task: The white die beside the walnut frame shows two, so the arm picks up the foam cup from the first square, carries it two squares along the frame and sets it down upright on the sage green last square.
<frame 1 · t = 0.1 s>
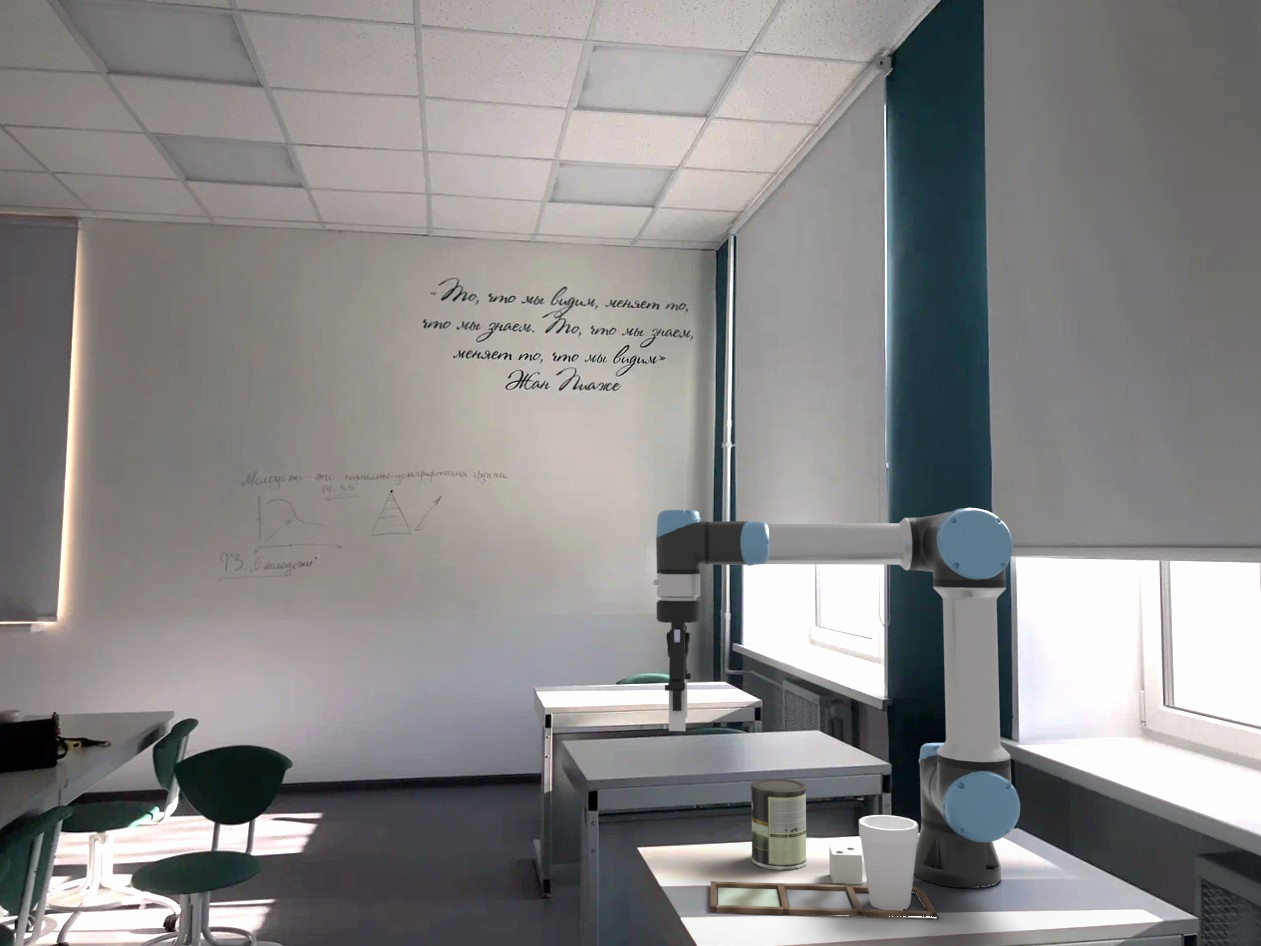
hand: (678, 723, 169), 28 cm above the table, tool pointing down, fingers open, 13 cm apart
coffee can: (779, 863, 183), on the table
walnut frame: (818, 901, 162), on the table
foam cup: (889, 905, 161), resting in walnut frame
white die: (845, 879, 174), on the table
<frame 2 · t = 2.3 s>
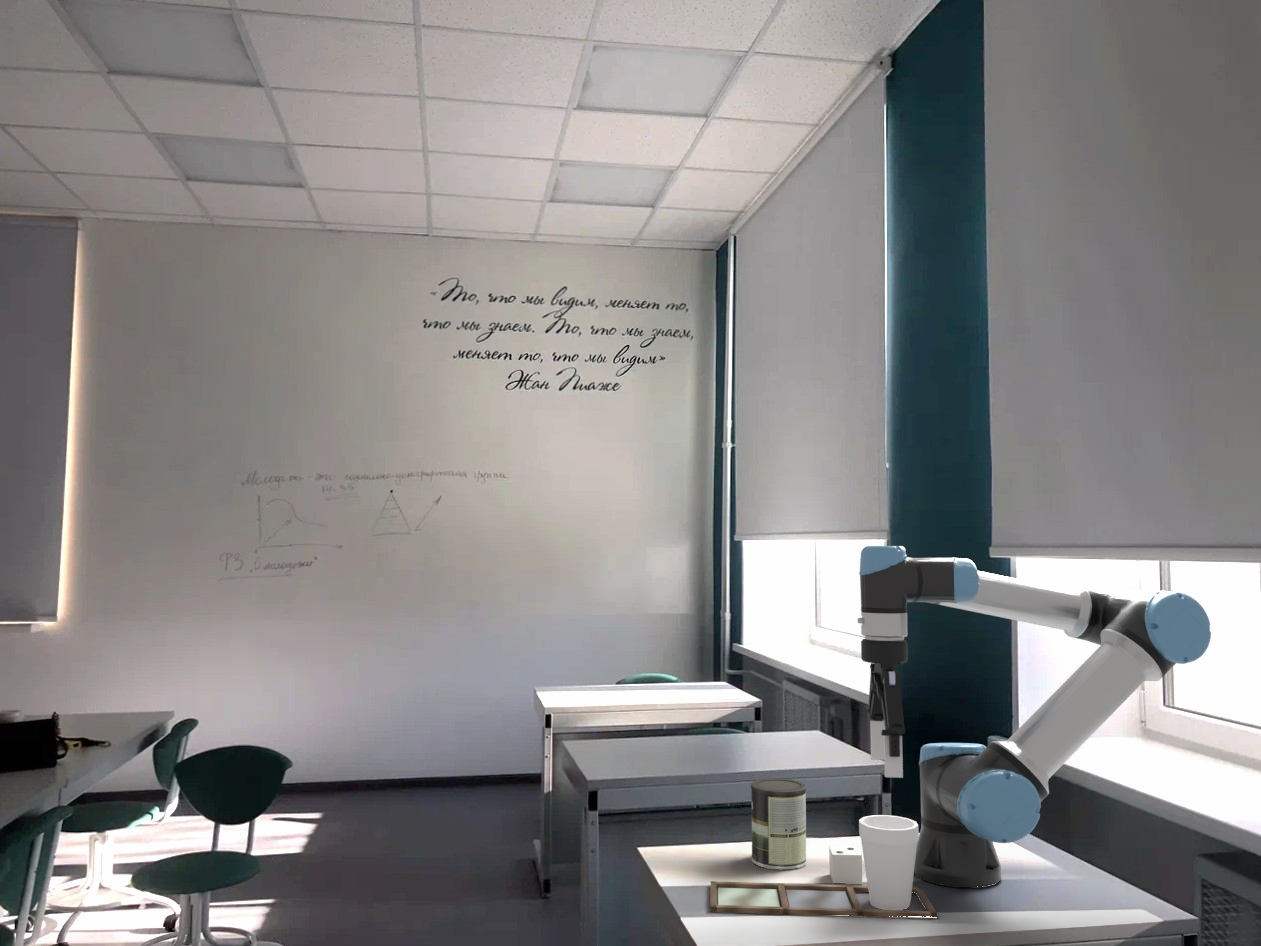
hand: (886, 768, 163), 22 cm above the table, tool pointing down, fingers open, 13 cm apart
nothing on the table moved.
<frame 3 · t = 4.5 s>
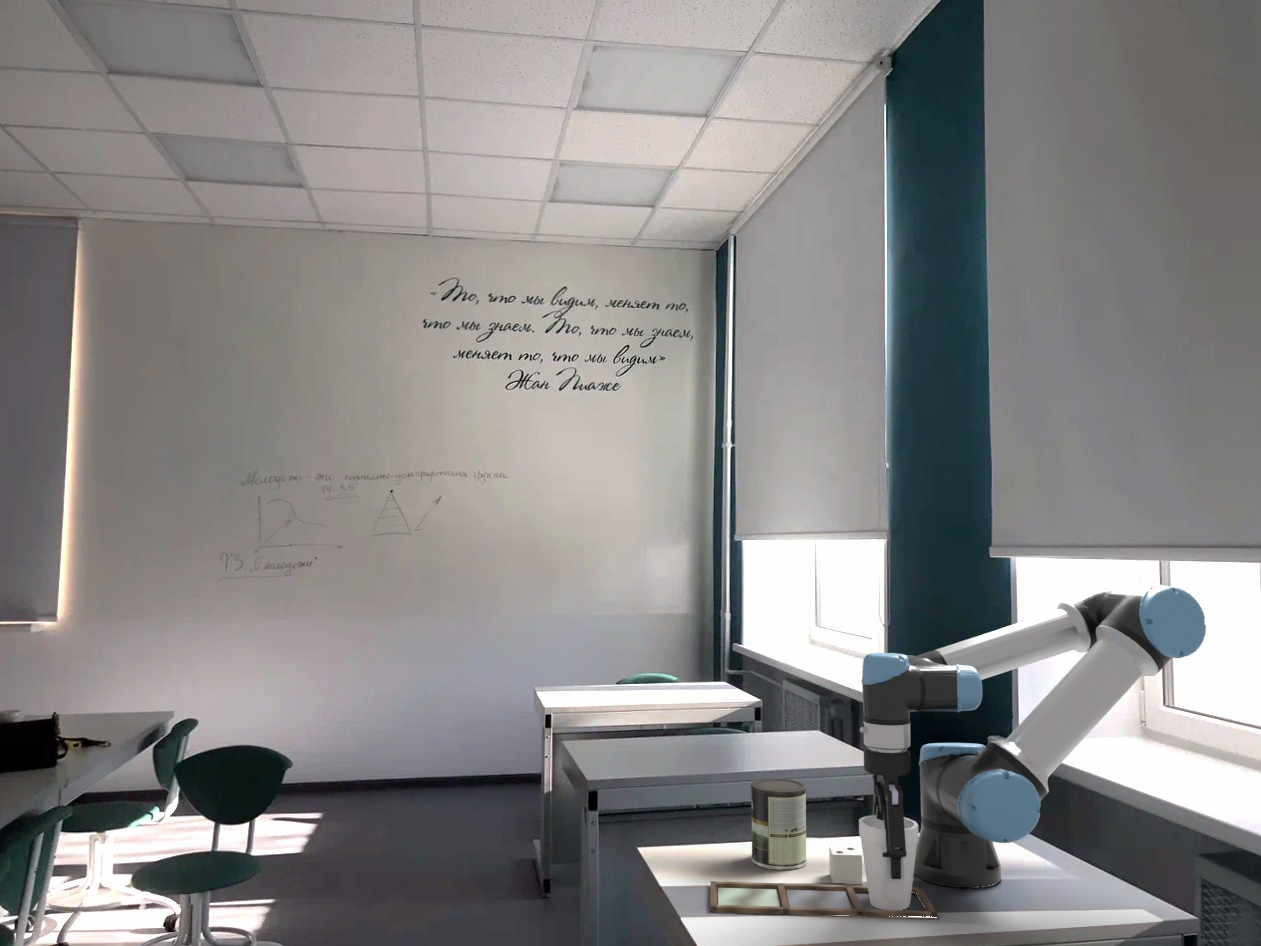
hand: (889, 887, 161), 3 cm above the table, tool pointing down, fingers closed on foam cup, 9 cm apart
foam cup: (889, 905, 161), resting in walnut frame, touching gripper
everything else where it was.
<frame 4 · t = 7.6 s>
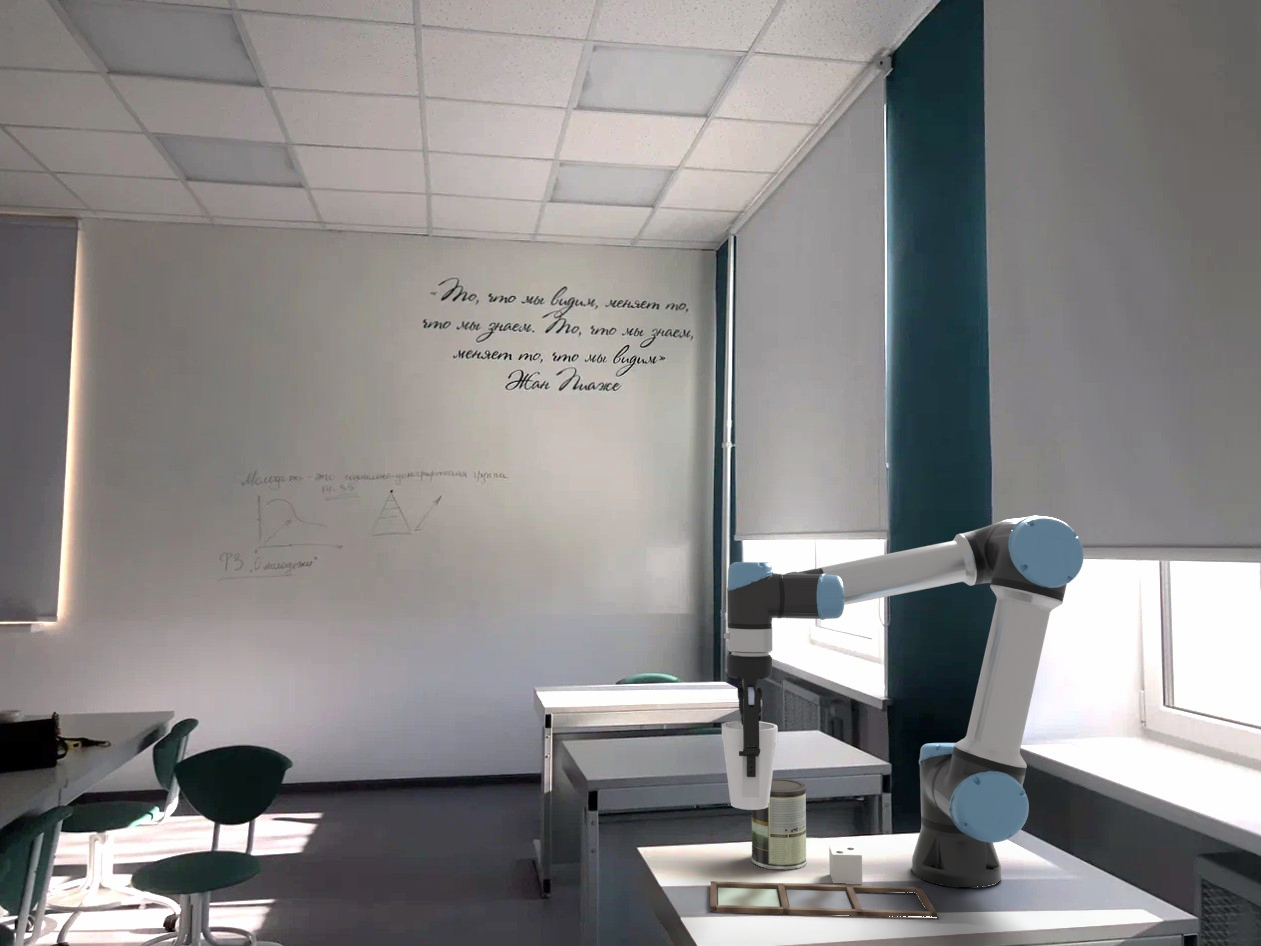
hand: (749, 789, 165), 18 cm above the table, tool pointing down, fingers closed on foam cup, 9 cm apart
foam cup: (749, 806, 164), point 15 cm above the table, touching gripper
everything else where it was.
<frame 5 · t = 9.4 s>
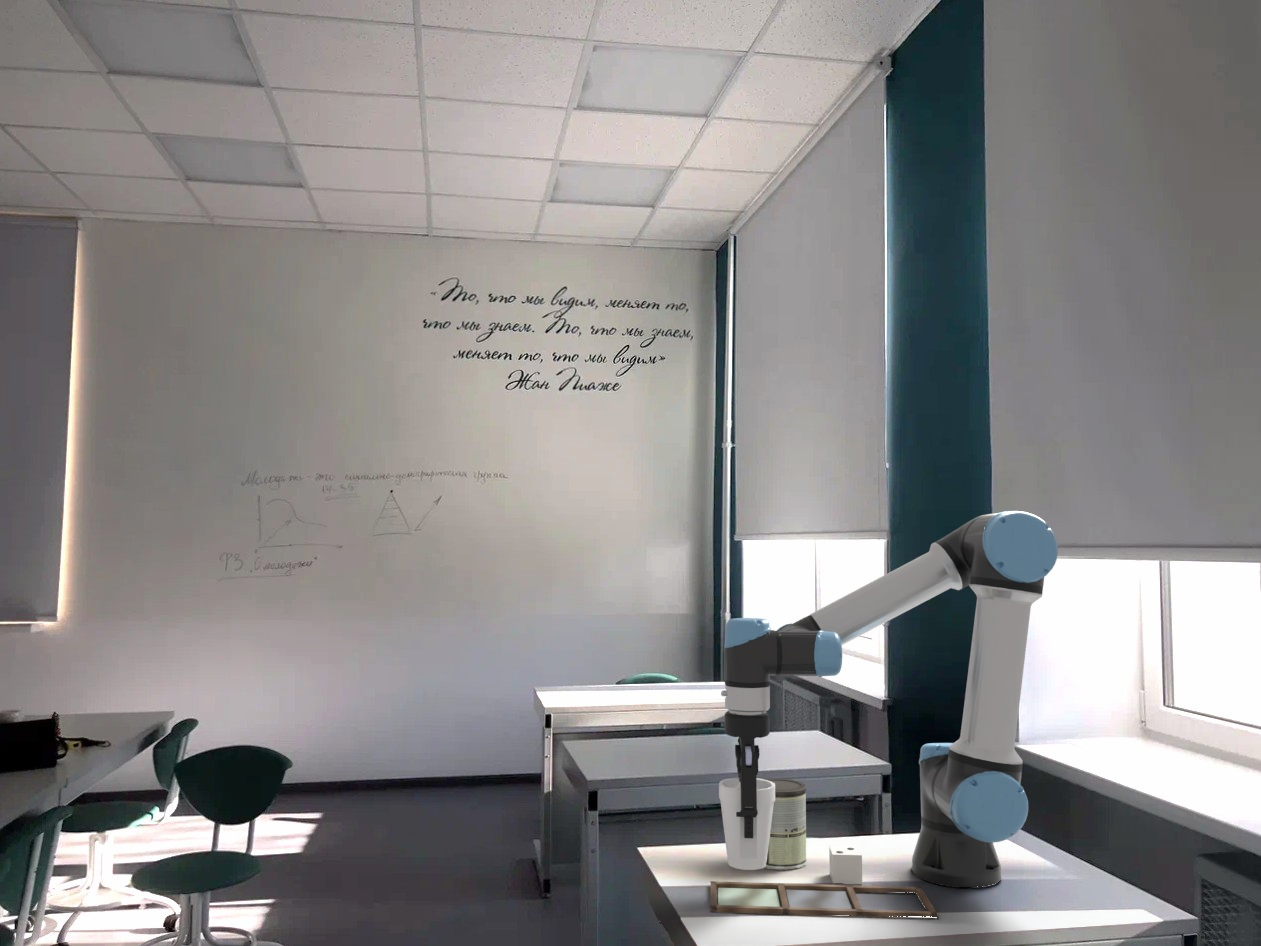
hand: (747, 848, 164), 8 cm above the table, tool pointing down, fingers closed on foam cup, 9 cm apart
foam cup: (747, 865, 164), point 6 cm above the table, touching gripper
everything else where it was.
when the fingers open (4 cm above the table, at t = 10.8 s): foam cup drops 1 cm, resting on walnut frame.
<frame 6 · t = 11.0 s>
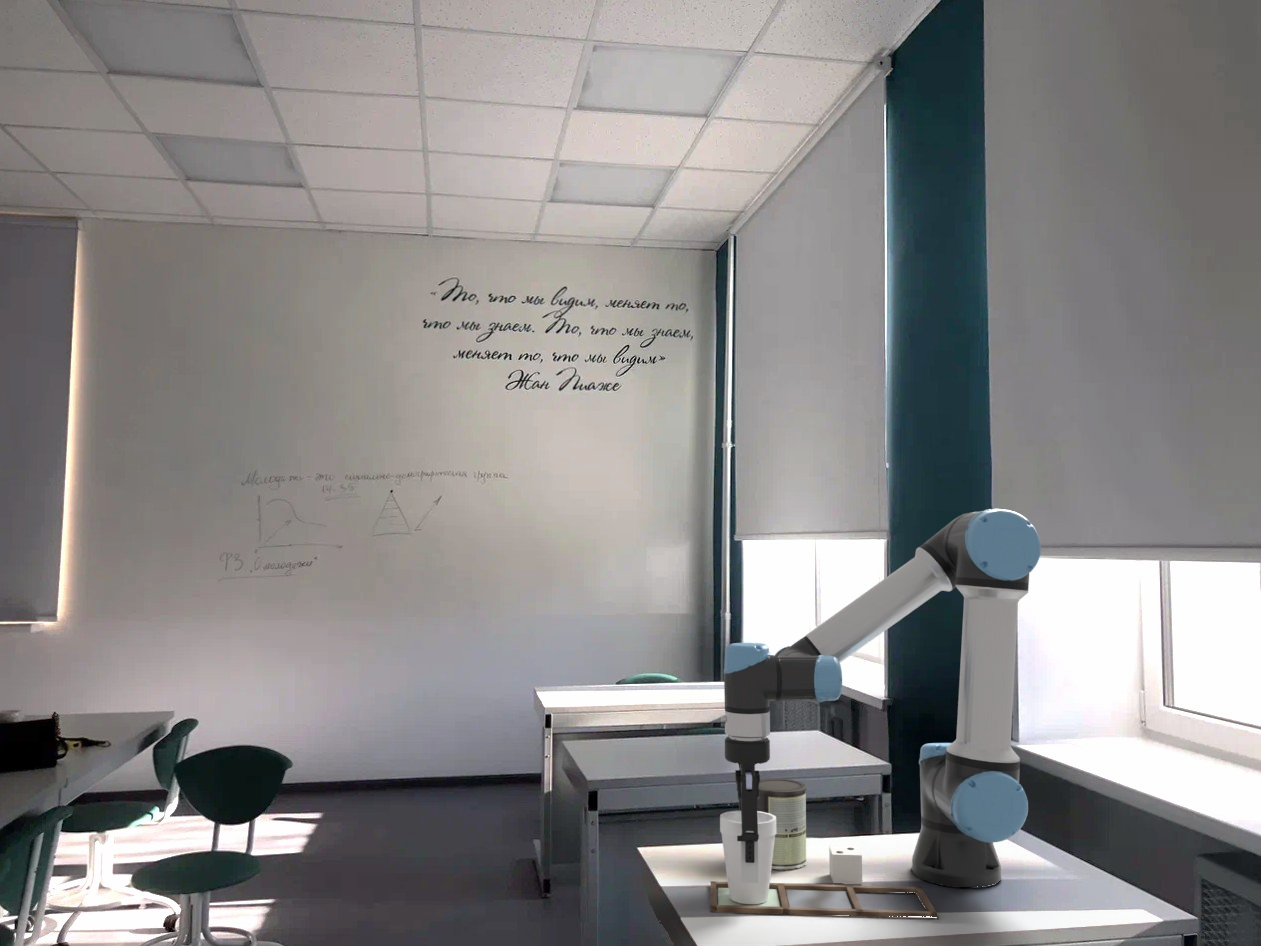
hand: (748, 869, 163), 5 cm above the table, tool pointing down, fingers open, 12 cm apart
foam cup: (748, 899, 163), resting on walnut frame
everything else where it was.
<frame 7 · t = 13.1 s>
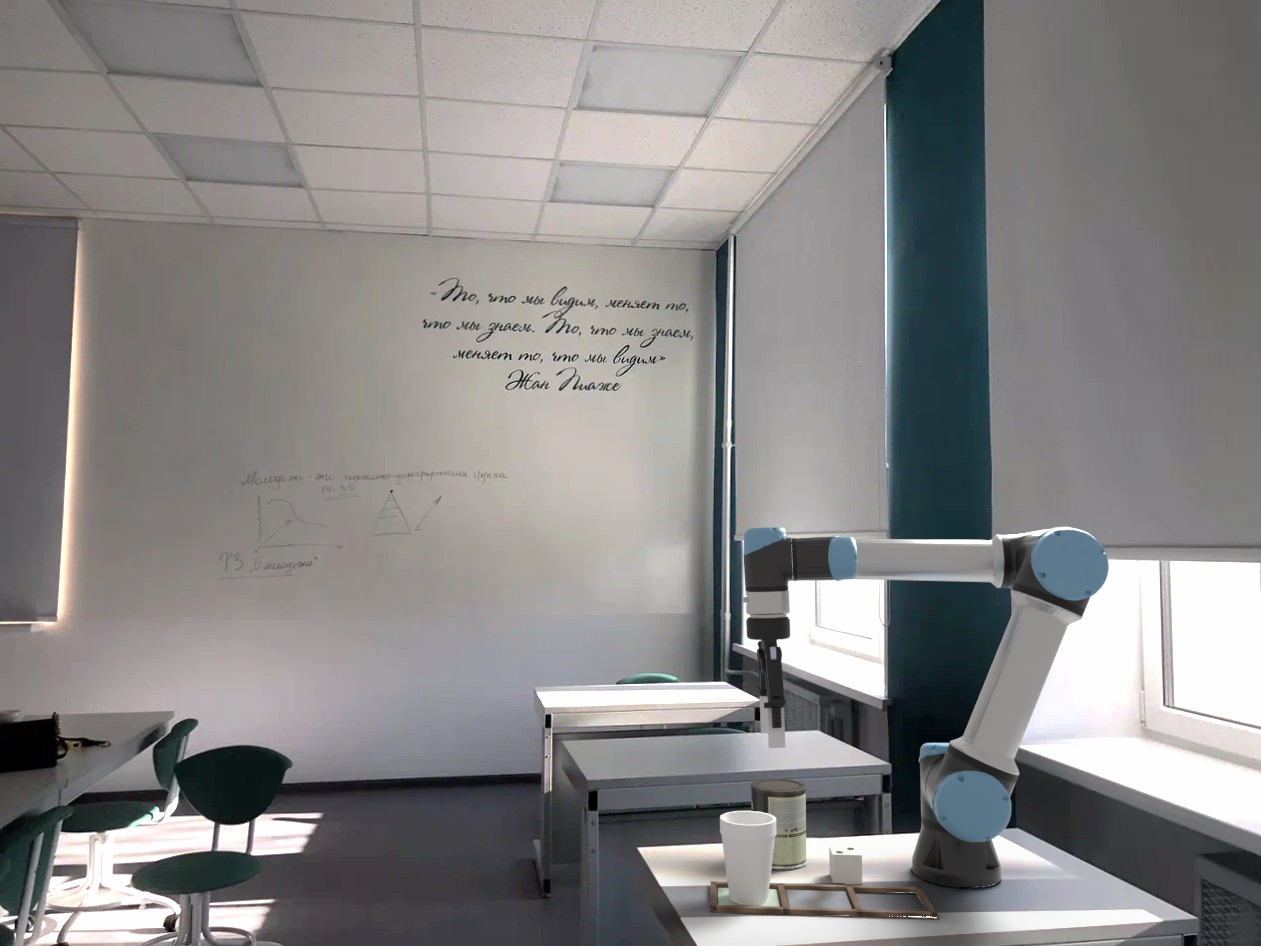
hand: (772, 740, 170), 25 cm above the table, tool pointing down, fingers open, 13 cm apart
nothing on the table moved.
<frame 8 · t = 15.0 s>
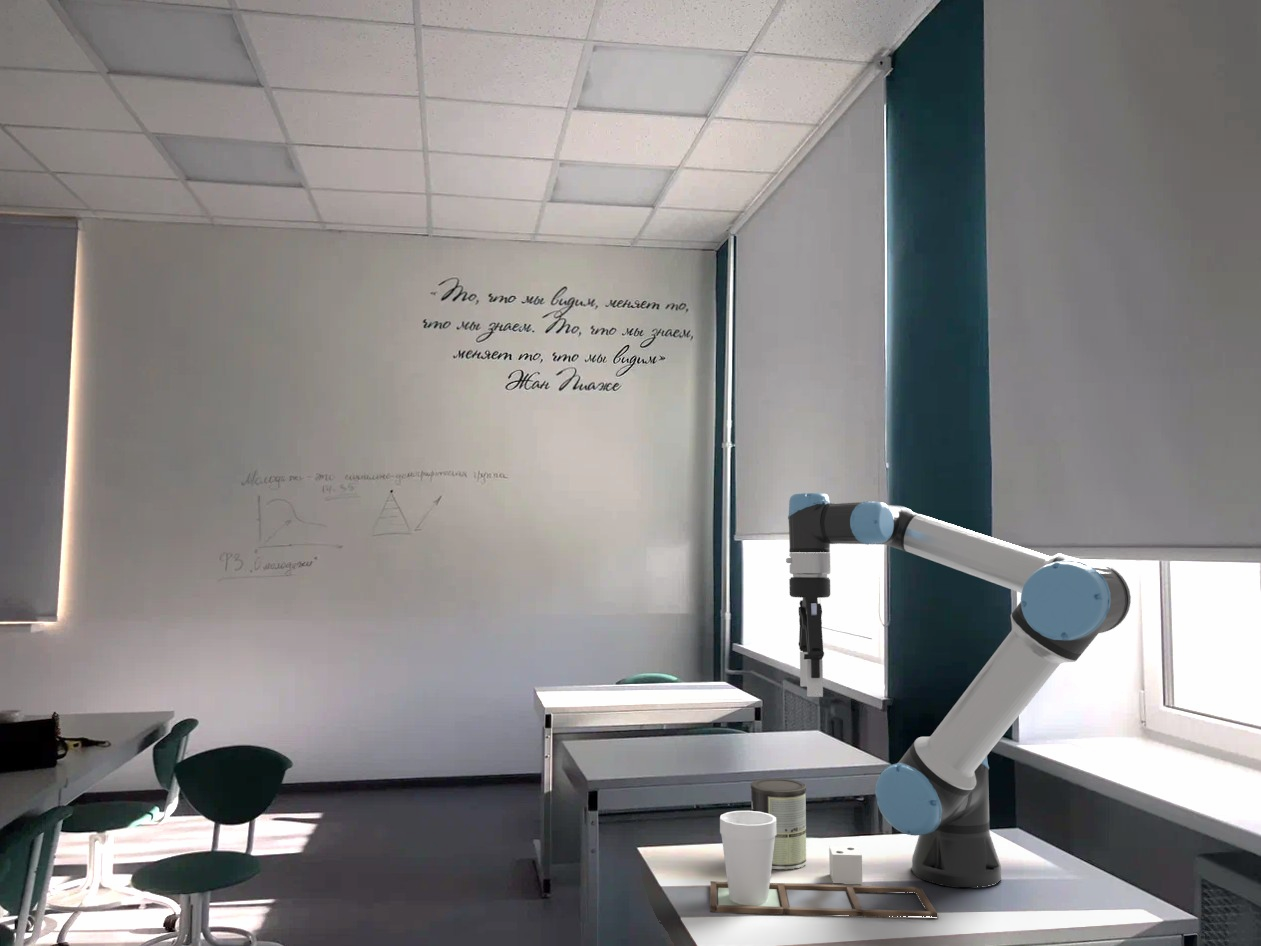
hand: (811, 691, 183), 32 cm above the table, tool pointing down, fingers open, 13 cm apart
nothing on the table moved.
at the end: foam cup 0.1 cm from the target spot on the walnut frame, point 0.0 cm above the walnut frame's base; foam cup tilted 0°; the gripper is holding nothing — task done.
